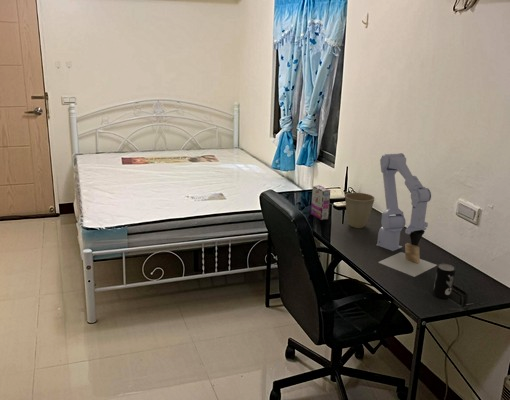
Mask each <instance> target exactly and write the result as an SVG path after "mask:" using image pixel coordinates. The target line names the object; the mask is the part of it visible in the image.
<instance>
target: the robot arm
mask: <svg viewBox="0 0 510 400" xmlns="http://www.w3.org/2000/svg"><path fill="white" fill-rule="evenodd" d="M379 162H380V164H379V165H380V172H381V173H382V178H383V188H384V197H385V206H386V209H385V210H384V211H383V212H382V213H381V221H380V223H381V224H380V225H381V227H380V228H379V230H378V234H377V241H376V242H377V243H376V244H375V245H376V246H377V247H381V248H384V249H386V250H389V251H391V252H395V251H397V250H398V249H399V250H400V249H401V248H403V246H402V245H400V239H401V231H402V230H403V229H404V228H405V226H406V225H407V224H406V221H407V220H406V218H405V215H404V211H402V210H401V209H400V208H399V202H398V194H397V184H396V183H397V182H396V173H399V174H400V175H401V176H402V177H403V179H404V180H405V181H404V185H405V186H406V188H407V189H408V191H409V193H410V199H411V206H412V207H411V208H412V209H411V214H410V223H409V224H408V226H407V227H406V228H405V230H404V231H405V232H404V233H405V234H407V235H409V237H410V244H412V245H415V246H418V247H419V243H420V240H421V238H422V237H423V235H424V234H426V233H425V232H426V230H427V228H428V226H429V222H426V214H427V207H428V203H429V202H431V200H432V192H431V190H430V189H429V188H428V187H426V186H423V184H422V183H421V181H420V180H419V178H418V176H416V175H413V174H412V172H411V170H410V168H409V167H408V165H407V157H406V156H405V154H404V153H402V152H401V153H384V154H382V155H381V157H380V160H379Z"/></svg>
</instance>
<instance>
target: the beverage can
mask: <svg viewBox="0 0 510 400" xmlns="http://www.w3.org/2000/svg"><path fill="white" fill-rule="evenodd" d="M437 266H438V267H436V271H435V277H434V278H435V279H434V283H433V285H434V286H433V290H432V293H433V295H434V296H435V297H436V298H438V299H441V298H442V299H441V300H447V299H450V298H451V297H452V294H453V288H454V283H455V276H456V270H455V267H454V266H453V265H451V264H449V263H440V264H437Z"/></svg>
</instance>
